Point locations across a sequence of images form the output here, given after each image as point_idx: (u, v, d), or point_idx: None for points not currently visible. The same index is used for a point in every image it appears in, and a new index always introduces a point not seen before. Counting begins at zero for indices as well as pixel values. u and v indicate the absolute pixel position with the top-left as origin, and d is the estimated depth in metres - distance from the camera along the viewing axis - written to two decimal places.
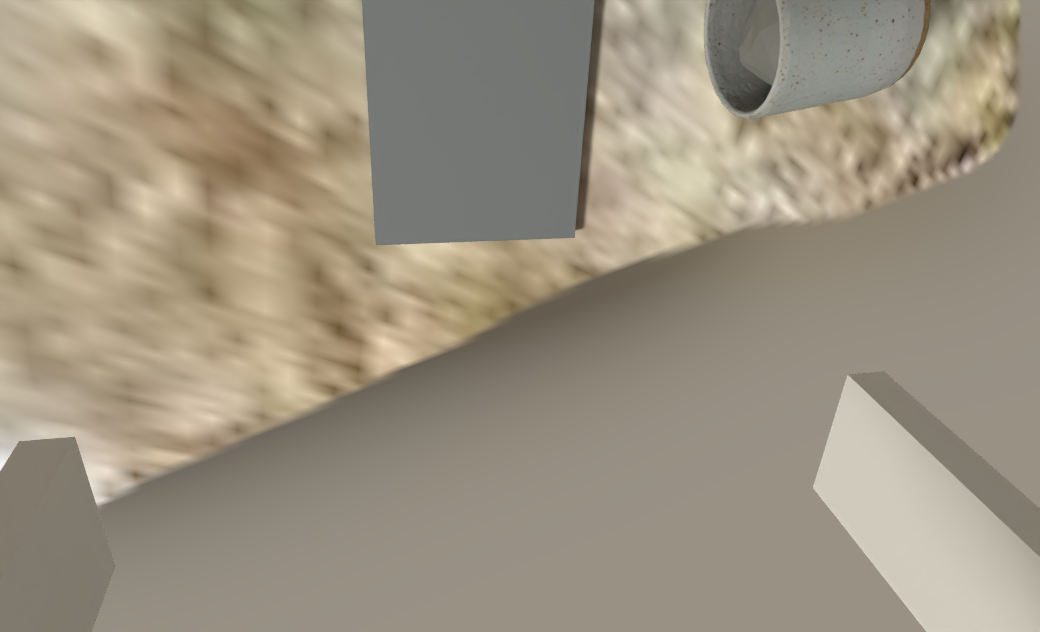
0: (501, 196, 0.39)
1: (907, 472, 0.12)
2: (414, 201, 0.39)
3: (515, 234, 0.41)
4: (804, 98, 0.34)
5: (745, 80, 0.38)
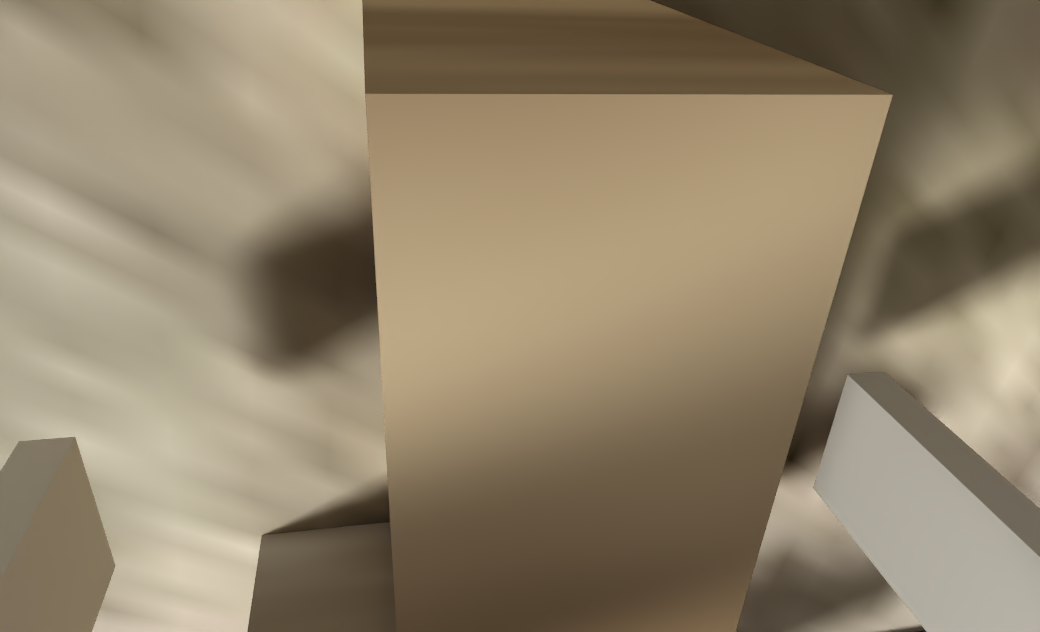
0: None
1: (907, 472, 0.12)
2: None
3: None
4: None
5: None
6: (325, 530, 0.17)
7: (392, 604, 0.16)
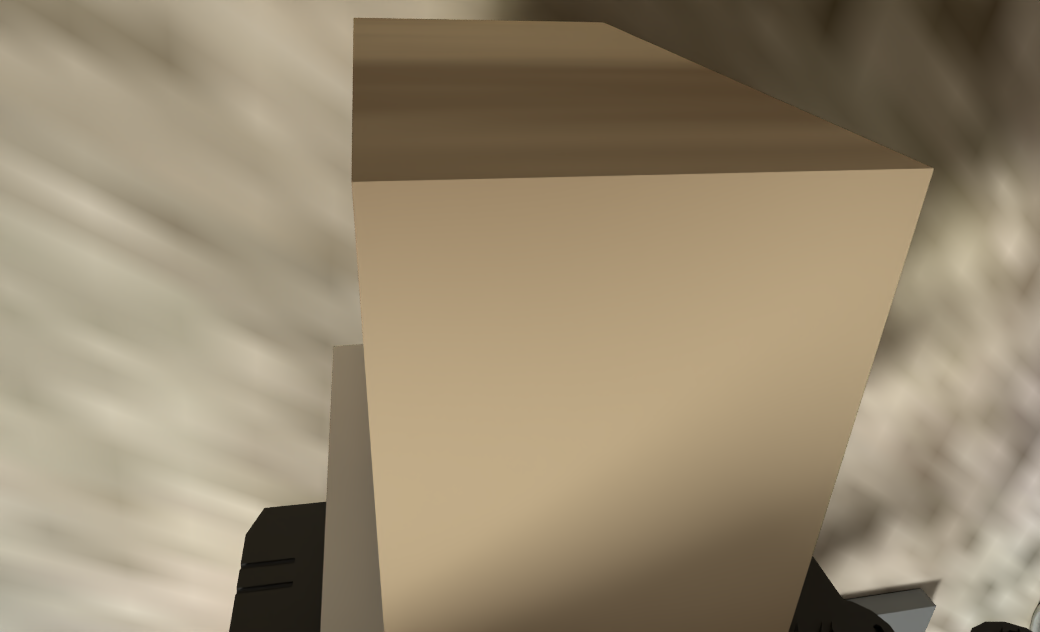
0: None
1: None
2: None
3: None
4: None
5: None
6: None
7: None
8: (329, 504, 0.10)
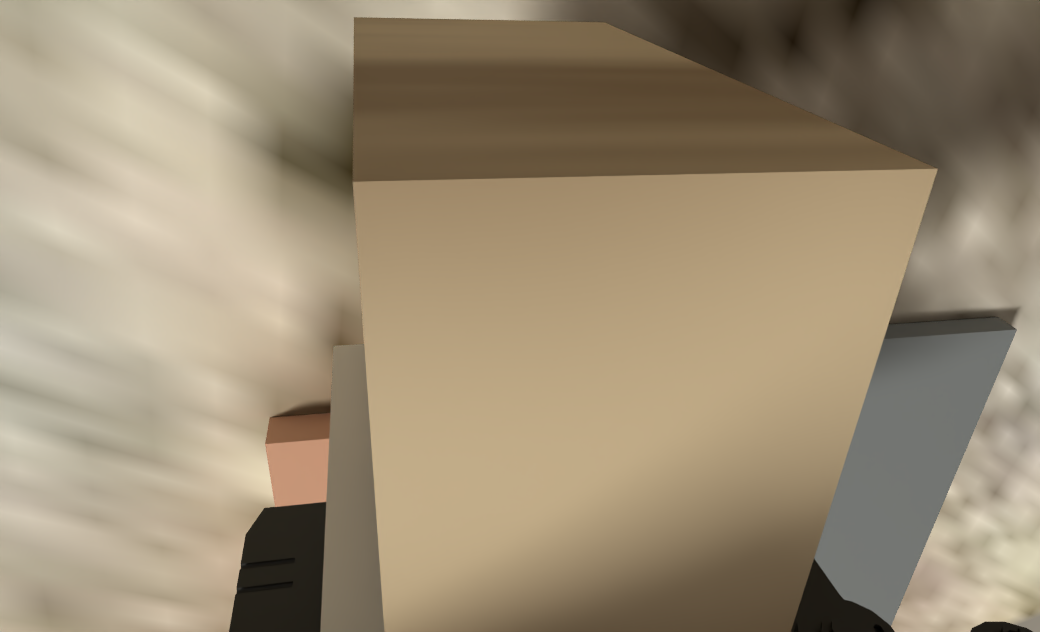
0: None
1: None
2: None
3: None
4: None
5: None
6: None
7: None
8: (329, 504, 0.10)
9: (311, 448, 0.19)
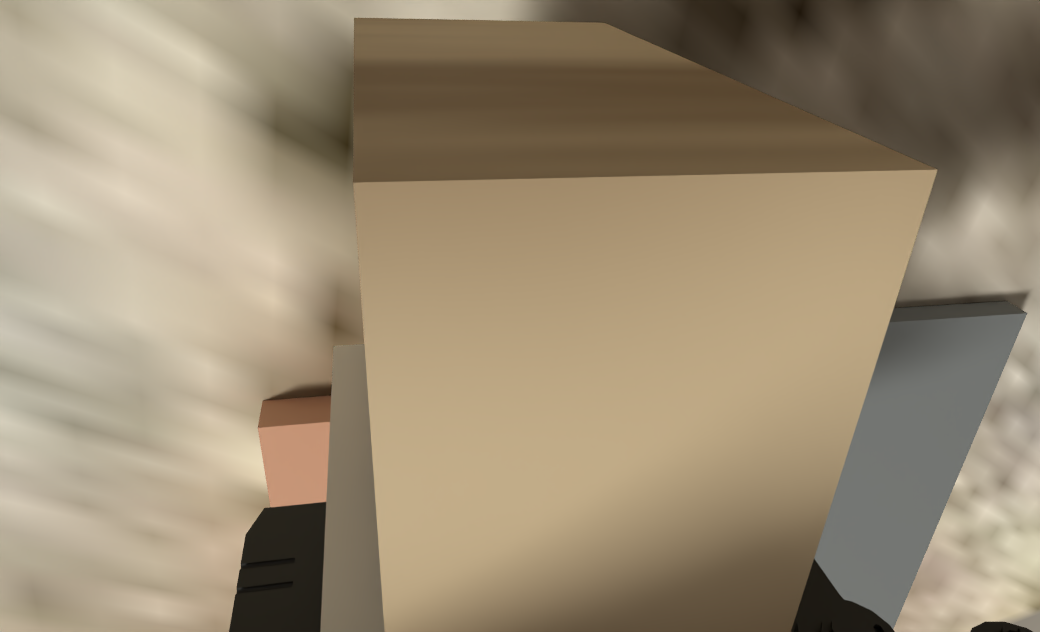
0: None
1: None
2: None
3: None
4: None
5: None
6: None
7: None
8: (329, 504, 0.10)
9: (305, 432, 0.19)
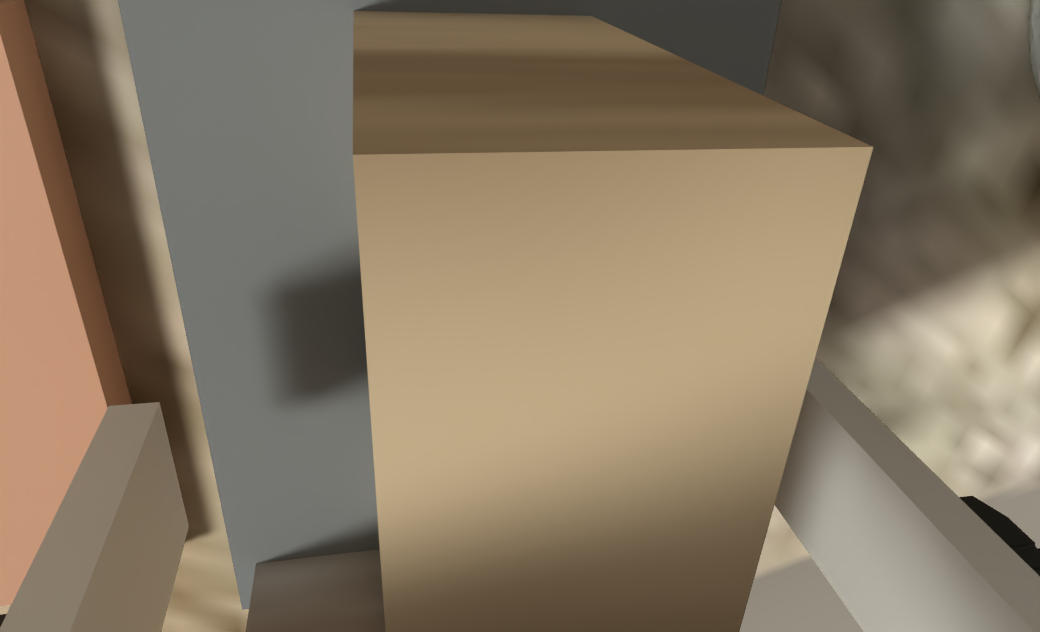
0: None
1: (826, 449, 0.12)
2: (324, 526, 0.17)
3: None
4: None
5: None
6: (319, 558, 0.17)
7: None
8: (3, 627, 0.08)
9: None
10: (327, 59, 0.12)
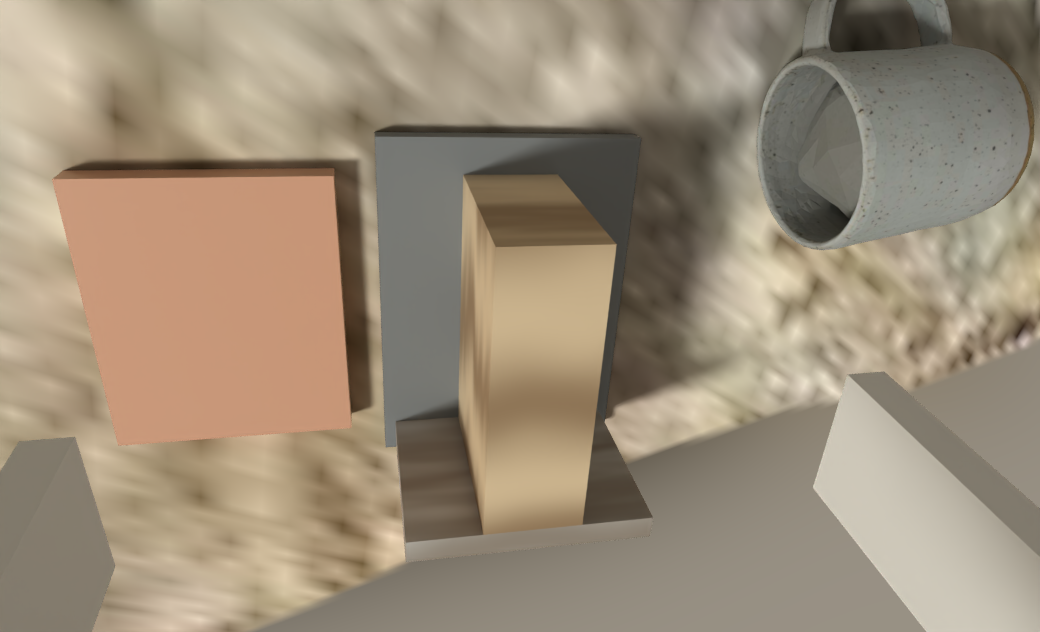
0: None
1: (907, 472, 0.12)
2: (430, 403, 0.35)
3: None
4: (884, 232, 0.29)
5: (804, 196, 0.33)
6: (426, 420, 0.35)
7: (463, 447, 0.33)
8: None
9: (87, 186, 0.27)
10: (451, 192, 0.30)
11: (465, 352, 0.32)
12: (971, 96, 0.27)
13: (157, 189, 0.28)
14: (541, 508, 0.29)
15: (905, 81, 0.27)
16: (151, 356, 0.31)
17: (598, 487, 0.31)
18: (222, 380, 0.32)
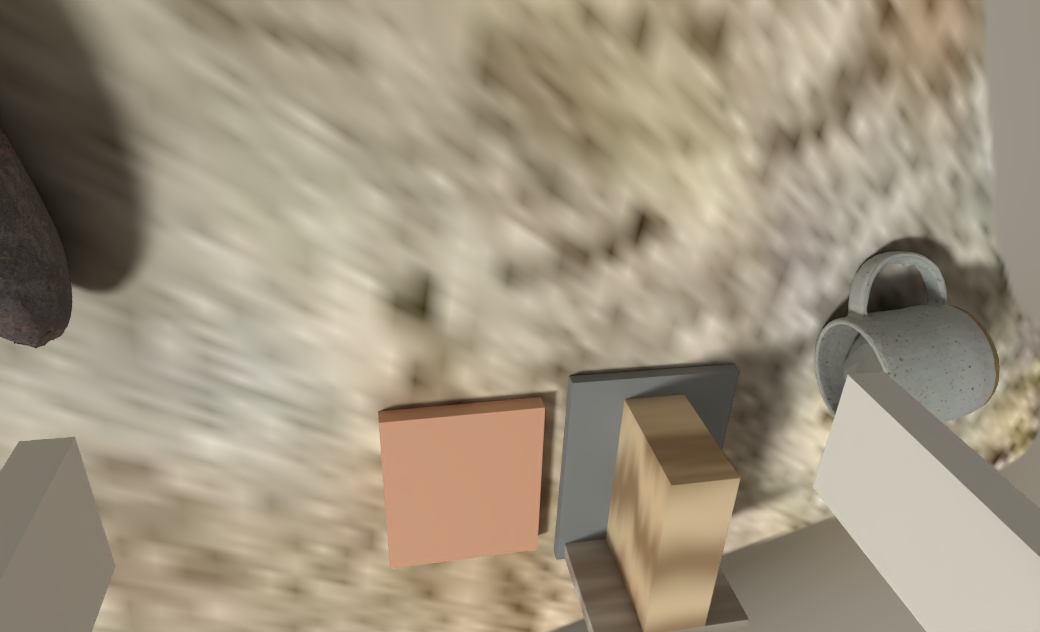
0: None
1: (907, 472, 0.12)
2: (588, 531, 0.51)
3: None
4: None
5: None
6: (584, 542, 0.52)
7: (614, 565, 0.50)
8: None
9: (398, 424, 0.43)
10: (616, 409, 0.46)
11: (621, 508, 0.48)
12: (958, 357, 0.42)
13: (439, 423, 0.44)
14: (680, 618, 0.45)
15: (916, 350, 0.42)
16: (419, 515, 0.47)
17: None
18: (460, 526, 0.48)
